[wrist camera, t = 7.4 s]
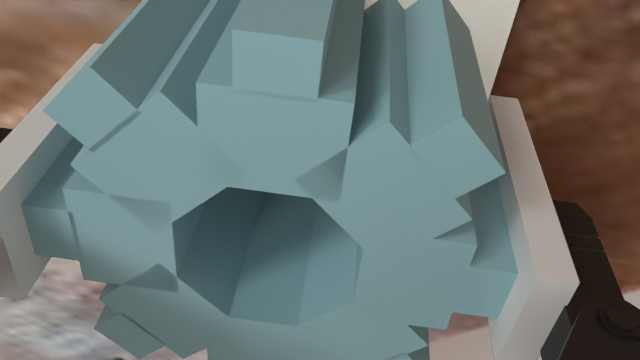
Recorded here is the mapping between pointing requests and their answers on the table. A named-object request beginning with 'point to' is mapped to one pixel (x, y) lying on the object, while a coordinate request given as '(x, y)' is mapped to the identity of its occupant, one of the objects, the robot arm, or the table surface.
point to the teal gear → (280, 180)
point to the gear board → (483, 30)
